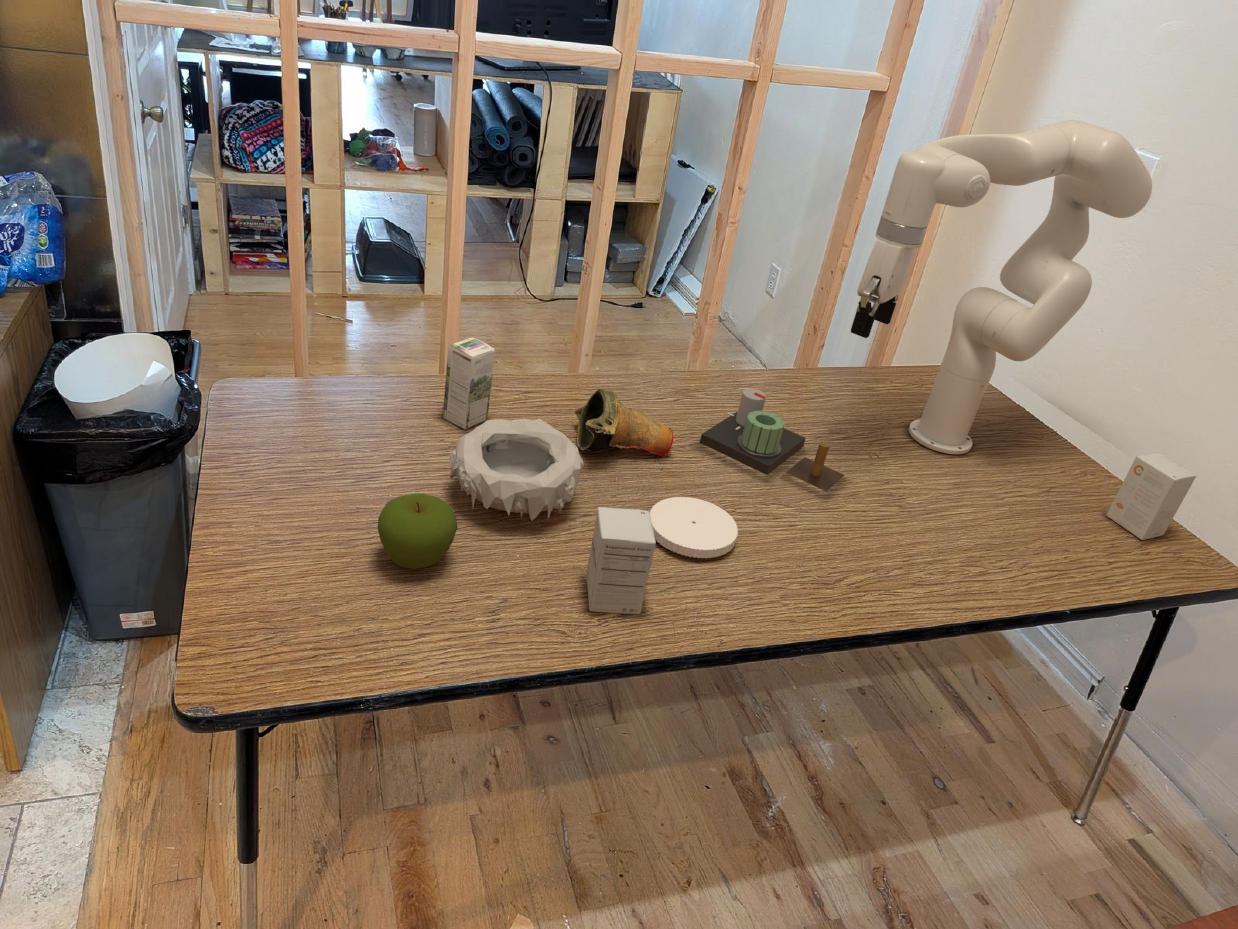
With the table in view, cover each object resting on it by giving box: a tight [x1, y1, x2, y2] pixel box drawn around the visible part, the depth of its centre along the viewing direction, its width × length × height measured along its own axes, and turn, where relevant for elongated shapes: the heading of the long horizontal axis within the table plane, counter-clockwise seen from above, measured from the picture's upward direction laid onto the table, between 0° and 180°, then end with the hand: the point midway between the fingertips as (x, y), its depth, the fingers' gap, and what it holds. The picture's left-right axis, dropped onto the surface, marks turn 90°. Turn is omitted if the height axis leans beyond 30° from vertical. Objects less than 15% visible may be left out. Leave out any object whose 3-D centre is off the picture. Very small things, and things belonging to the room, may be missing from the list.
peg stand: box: [785, 441, 845, 493], centre depth 163 cm, size 8×8×7 cm
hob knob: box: [736, 388, 767, 426], centre depth 171 cm, size 4×4×6 cm
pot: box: [573, 388, 675, 459], centre depth 160 cm, size 17×11×18 cm
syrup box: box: [442, 337, 496, 431], centre depth 159 cm, size 6×6×14 cm
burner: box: [737, 435, 781, 459], centre depth 165 cm, size 8×8×1 cm
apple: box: [377, 493, 458, 570], centre depth 125 cm, size 11×10×10 cm
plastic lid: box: [649, 496, 739, 559], centre depth 143 cm, size 14×14×2 cm
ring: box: [741, 410, 785, 454], centre depth 164 cm, size 7×7×5 cm
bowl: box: [449, 418, 585, 521], centre depth 142 cm, size 21×20×10 cm
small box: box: [1105, 452, 1197, 541], centre depth 165 cm, size 8×6×13 cm
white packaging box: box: [585, 506, 657, 615], centre depth 125 cm, size 7×7×13 cm
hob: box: [699, 410, 807, 476], centre depth 169 cm, size 15×15×3 cm
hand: (870, 328), depth 159 cm, fingers open, 9 cm apart
